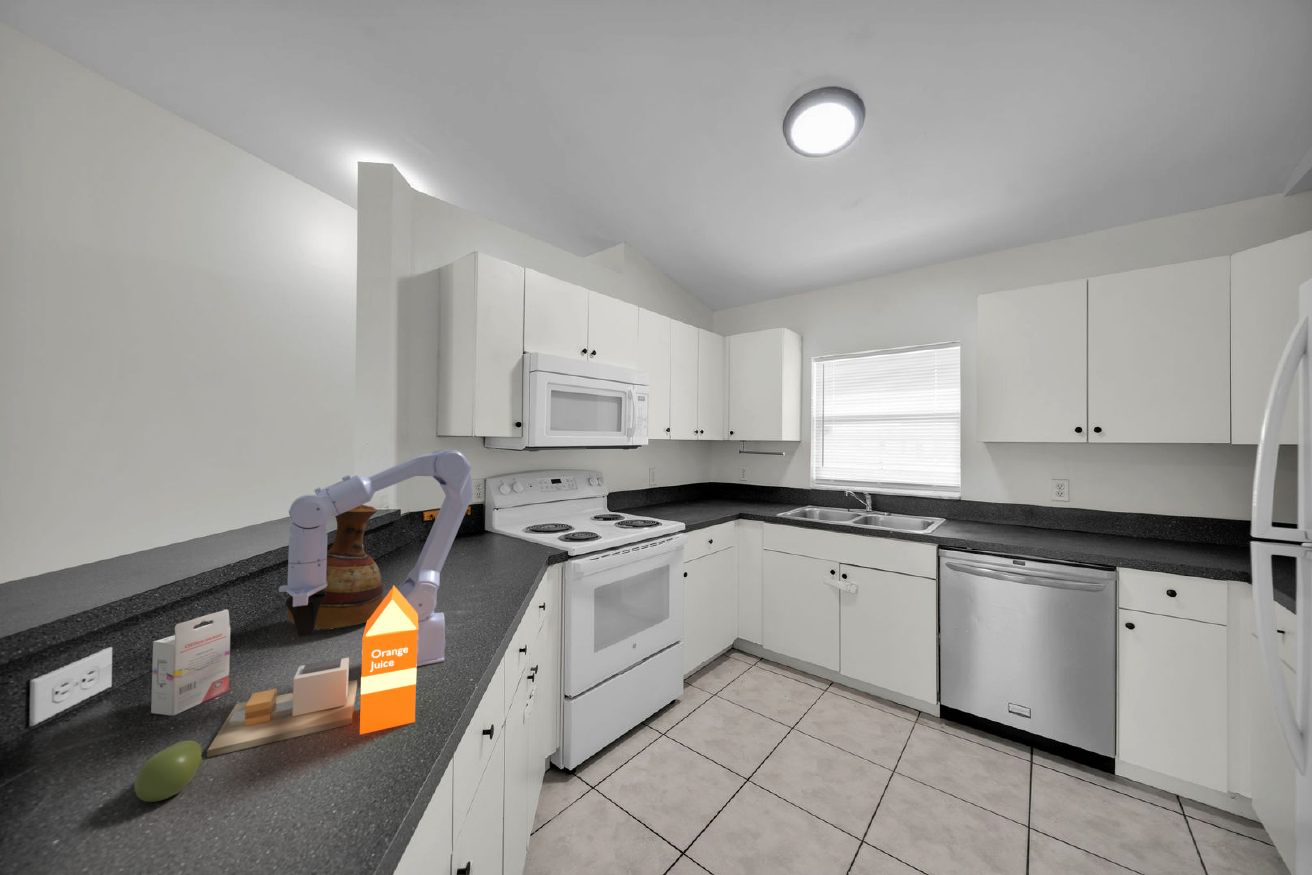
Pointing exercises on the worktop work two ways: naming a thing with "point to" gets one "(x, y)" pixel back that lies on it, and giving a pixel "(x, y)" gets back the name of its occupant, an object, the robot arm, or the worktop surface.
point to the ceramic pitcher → (349, 575)
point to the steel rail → (276, 712)
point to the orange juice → (389, 665)
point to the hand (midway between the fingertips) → (305, 634)
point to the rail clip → (260, 707)
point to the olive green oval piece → (168, 771)
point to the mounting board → (281, 725)
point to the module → (320, 686)
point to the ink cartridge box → (191, 664)
